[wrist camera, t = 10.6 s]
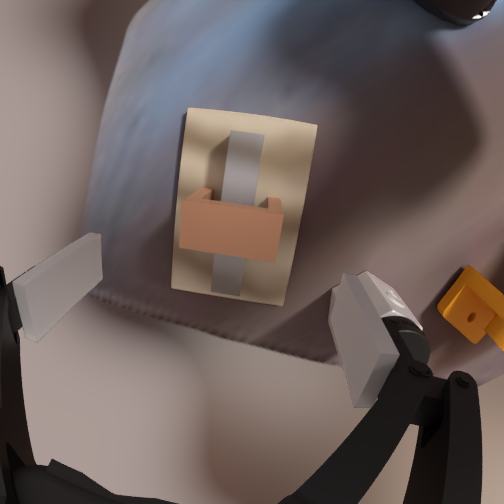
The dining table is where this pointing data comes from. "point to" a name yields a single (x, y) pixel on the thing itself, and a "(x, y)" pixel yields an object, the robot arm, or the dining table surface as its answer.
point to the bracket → (474, 307)
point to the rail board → (271, 184)
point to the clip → (231, 227)
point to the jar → (390, 315)
